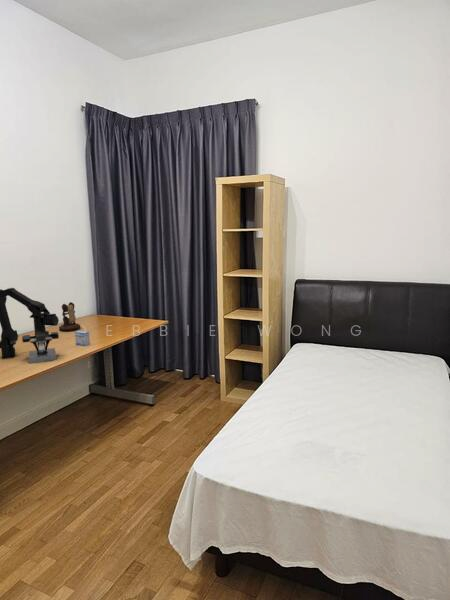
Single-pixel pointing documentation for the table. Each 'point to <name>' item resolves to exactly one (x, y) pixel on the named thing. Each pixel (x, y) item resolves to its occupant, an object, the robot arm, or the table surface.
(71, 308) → the brown figurine
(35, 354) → the socket block
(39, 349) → the silver flanged peg
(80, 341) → the medicine box
